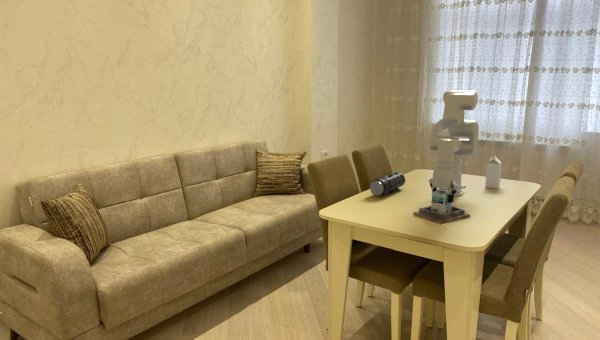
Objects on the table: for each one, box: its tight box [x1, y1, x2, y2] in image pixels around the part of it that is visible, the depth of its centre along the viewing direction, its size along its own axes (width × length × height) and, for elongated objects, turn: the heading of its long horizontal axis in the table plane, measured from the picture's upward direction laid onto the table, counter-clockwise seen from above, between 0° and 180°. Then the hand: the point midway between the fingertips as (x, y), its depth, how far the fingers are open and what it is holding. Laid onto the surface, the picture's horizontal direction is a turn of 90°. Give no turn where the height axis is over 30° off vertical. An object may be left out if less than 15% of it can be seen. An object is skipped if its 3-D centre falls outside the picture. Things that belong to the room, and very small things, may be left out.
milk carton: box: [484, 155, 503, 189], centre depth 263 cm, size 7×7×19 cm
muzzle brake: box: [369, 171, 406, 197], centre depth 252 cm, size 10×28×10 cm, turn 142°
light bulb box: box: [430, 188, 453, 214], centre depth 209 cm, size 11×7×11 cm, turn 142°
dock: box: [413, 205, 471, 225], centre depth 210 cm, size 20×17×4 cm
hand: (442, 199), depth 209 cm, fingers open, 9 cm apart
